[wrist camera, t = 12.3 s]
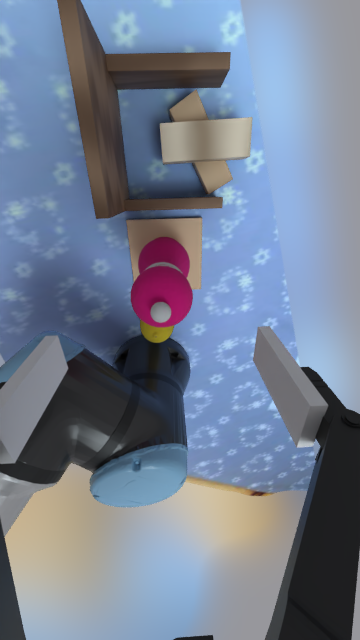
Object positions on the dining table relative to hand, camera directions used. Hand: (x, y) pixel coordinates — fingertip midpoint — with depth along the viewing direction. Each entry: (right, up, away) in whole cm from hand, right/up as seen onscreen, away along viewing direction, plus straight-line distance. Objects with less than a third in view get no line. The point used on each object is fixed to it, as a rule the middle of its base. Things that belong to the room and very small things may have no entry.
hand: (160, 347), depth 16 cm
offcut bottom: (+4, +25, +16) cm, 30 cm away
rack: (-1, +24, +15) cm, 29 cm away
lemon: (-3, +3, +27) cm, 27 cm away
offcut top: (+4, +23, +13) cm, 27 cm away
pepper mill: (-1, +12, +21) cm, 24 cm away
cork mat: (-1, +12, +22) cm, 25 cm away
